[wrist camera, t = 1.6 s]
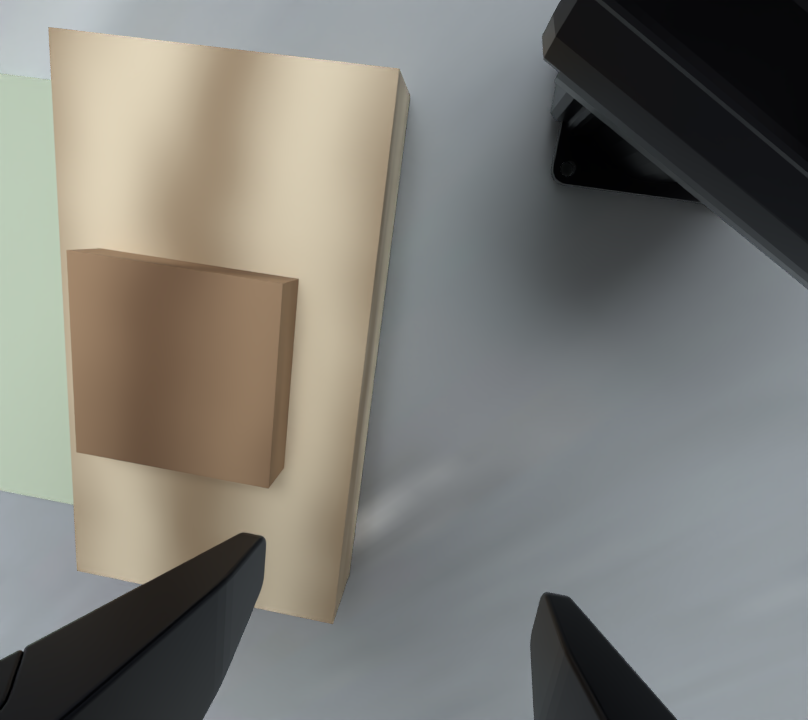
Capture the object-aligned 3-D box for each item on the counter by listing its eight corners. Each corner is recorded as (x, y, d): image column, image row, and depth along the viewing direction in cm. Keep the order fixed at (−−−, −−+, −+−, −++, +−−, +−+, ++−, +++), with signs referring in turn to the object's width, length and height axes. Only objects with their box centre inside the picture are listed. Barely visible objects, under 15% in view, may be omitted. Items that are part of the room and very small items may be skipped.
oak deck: (410, 95, 17) (399, 68, 14) (349, 573, 23) (332, 624, 20) (115, 59, 18) (48, 27, 15) (124, 528, 23) (77, 570, 20)
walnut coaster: (298, 278, 16) (282, 283, 15) (284, 468, 18) (268, 488, 17) (100, 248, 17) (66, 249, 15) (106, 435, 19) (76, 452, 17)
